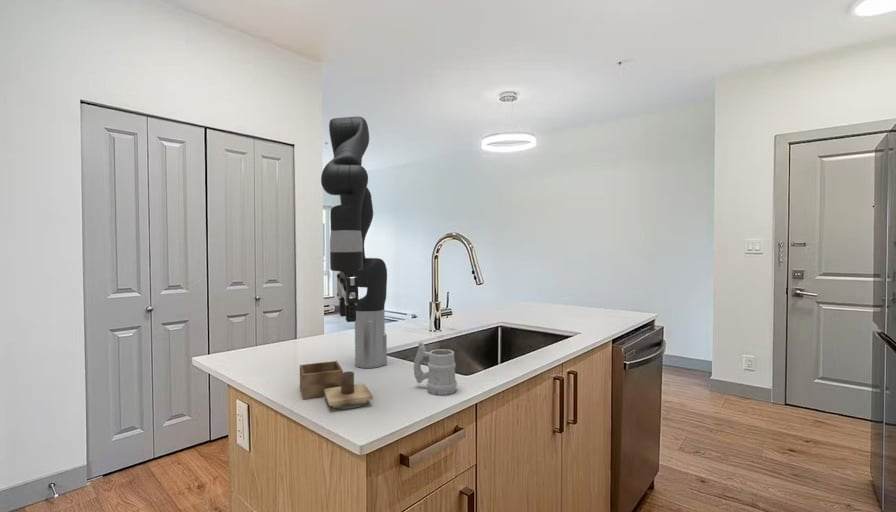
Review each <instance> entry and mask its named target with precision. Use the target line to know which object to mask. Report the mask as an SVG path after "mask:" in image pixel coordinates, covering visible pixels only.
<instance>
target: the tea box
mask: <svg viewBox="0 0 896 512" xmlns="http://www.w3.org/2000/svg"><path fill="white" fill-rule="evenodd" d="M343 372H344V371H343V368H342V367H341V365H340V363H339V362H338V360H333V361H324V362H323V361H322V362H314V363H306V364H304V363H303V364H299V388H300V392H301V393H300V394H301V398H302V400H303V401H304V400H310V399H316V398H317V399H318V398H326V396H325V394H324V389H326V388H334V387H341V373H343Z"/></svg>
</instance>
